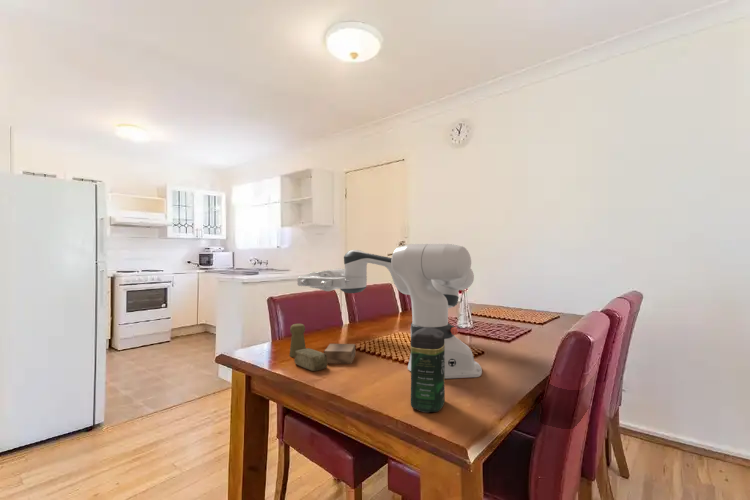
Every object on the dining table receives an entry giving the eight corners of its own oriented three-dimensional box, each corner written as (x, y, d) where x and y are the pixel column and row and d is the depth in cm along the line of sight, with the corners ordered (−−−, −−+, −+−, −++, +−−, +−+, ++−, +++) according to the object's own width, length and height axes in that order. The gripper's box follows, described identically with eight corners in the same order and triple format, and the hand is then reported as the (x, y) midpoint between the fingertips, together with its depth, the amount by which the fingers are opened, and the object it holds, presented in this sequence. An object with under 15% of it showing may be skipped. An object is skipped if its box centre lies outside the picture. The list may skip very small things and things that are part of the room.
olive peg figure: (310, 354, 133) (309, 323, 133) (298, 358, 128) (297, 326, 128) (297, 351, 136) (297, 321, 136) (285, 355, 131) (285, 324, 131)
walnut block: (355, 355, 131) (355, 344, 131) (351, 363, 122) (351, 351, 122) (330, 354, 132) (330, 343, 132) (324, 363, 123) (324, 351, 123)
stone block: (313, 373, 114) (313, 357, 114) (293, 365, 122) (292, 350, 122) (328, 368, 118) (328, 352, 118) (307, 361, 126) (307, 346, 126)
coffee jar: (441, 416, 85) (440, 335, 84) (407, 411, 87) (406, 332, 87) (447, 399, 94) (447, 325, 93) (417, 395, 96) (416, 323, 96)
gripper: (351, 288, 153) (336, 292, 140) (308, 286, 160) (289, 290, 148) (351, 273, 153) (336, 276, 140) (307, 272, 160) (289, 274, 147)
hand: (312, 283), depth 144 cm, fingers open, 8 cm apart
